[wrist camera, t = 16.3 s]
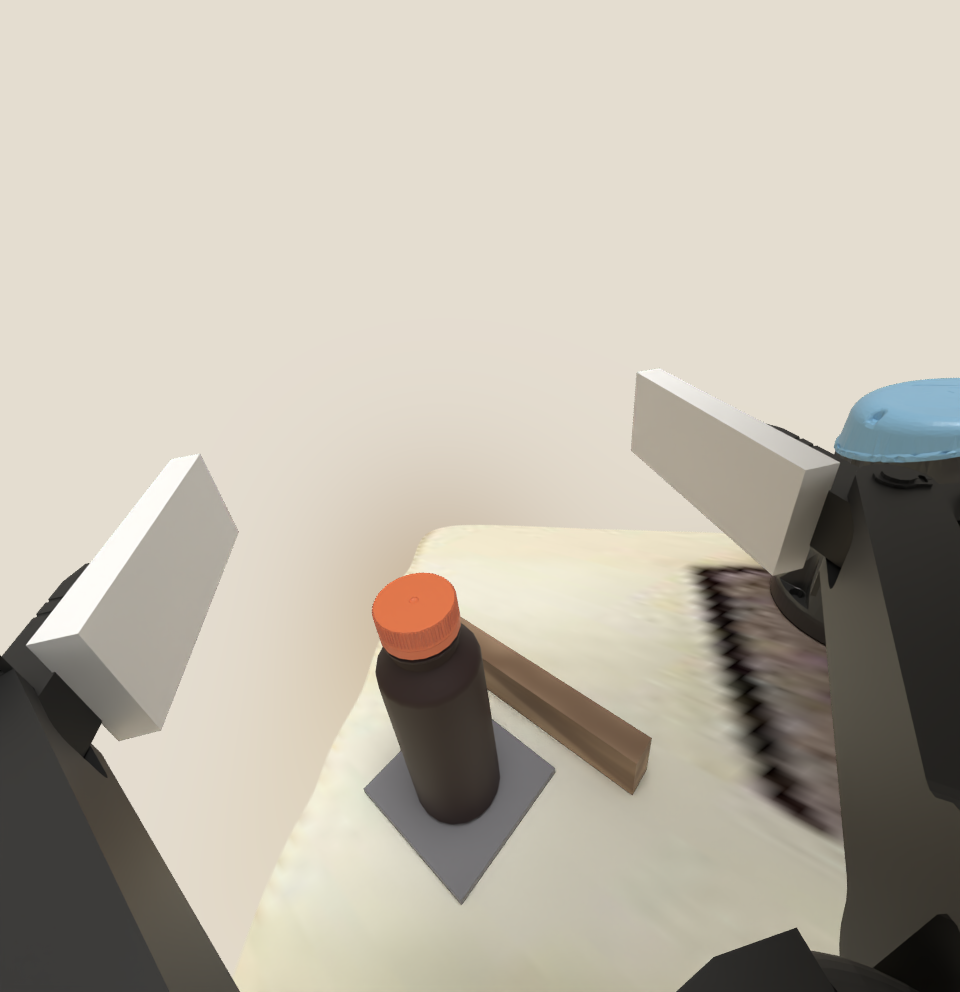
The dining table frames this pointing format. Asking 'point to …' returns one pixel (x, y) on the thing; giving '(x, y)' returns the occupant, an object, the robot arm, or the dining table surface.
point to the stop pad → (476, 843)
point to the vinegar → (436, 696)
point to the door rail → (565, 713)
